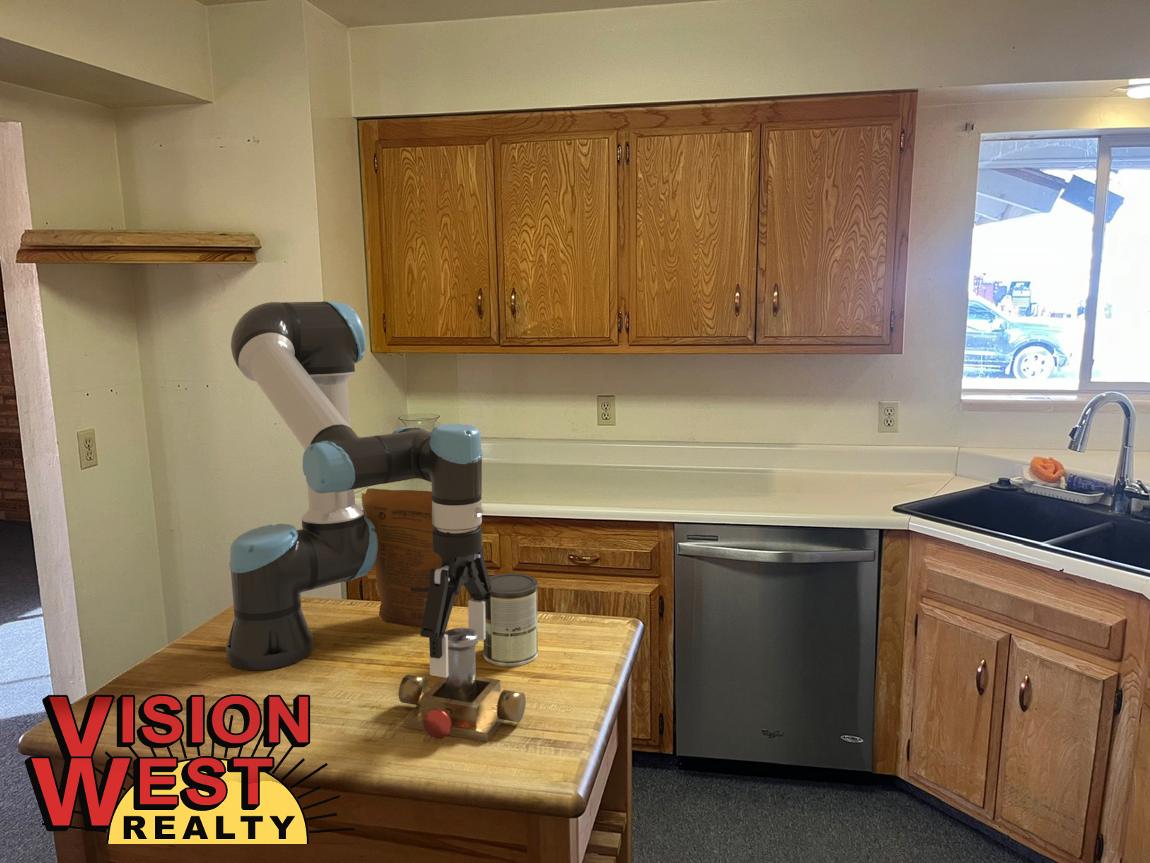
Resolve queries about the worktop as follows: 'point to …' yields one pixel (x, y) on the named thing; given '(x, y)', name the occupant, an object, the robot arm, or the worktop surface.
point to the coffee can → (511, 620)
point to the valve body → (459, 708)
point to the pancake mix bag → (402, 551)
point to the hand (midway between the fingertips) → (459, 656)
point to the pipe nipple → (461, 664)
